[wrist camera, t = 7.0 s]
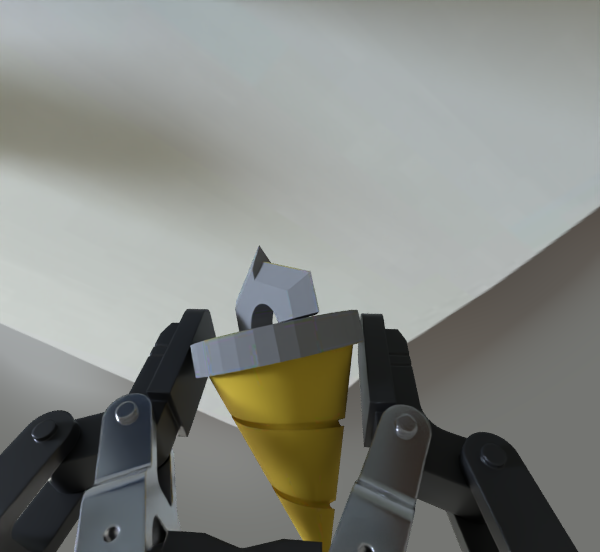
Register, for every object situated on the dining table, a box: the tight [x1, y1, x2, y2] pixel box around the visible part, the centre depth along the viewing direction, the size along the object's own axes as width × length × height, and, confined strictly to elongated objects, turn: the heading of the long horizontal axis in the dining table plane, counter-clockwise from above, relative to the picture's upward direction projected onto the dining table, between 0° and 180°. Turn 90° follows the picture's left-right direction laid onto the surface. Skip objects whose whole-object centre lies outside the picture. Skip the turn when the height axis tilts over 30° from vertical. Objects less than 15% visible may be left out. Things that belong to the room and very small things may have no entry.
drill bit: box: [190, 246, 365, 552], centre depth 11 cm, size 5×5×10 cm
